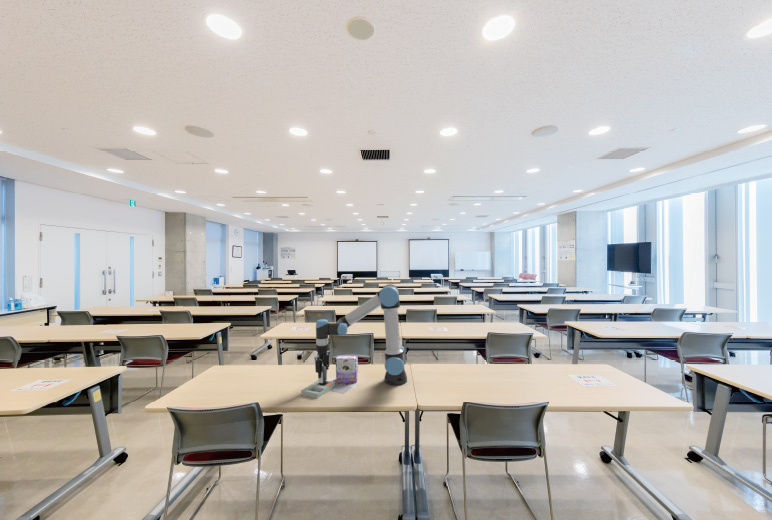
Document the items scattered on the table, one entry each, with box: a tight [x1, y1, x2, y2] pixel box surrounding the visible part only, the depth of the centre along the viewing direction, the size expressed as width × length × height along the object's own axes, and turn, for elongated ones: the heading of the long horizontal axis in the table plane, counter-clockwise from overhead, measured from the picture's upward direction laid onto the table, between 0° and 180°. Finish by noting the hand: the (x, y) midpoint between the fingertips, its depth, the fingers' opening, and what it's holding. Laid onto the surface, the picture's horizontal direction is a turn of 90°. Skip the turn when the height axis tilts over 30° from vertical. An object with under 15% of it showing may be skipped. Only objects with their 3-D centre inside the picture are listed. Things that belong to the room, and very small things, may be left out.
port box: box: [300, 380, 336, 399], centre depth 196 cm, size 12×18×3 cm, turn 156°
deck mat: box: [330, 384, 353, 395], centre depth 197 cm, size 10×10×1 cm
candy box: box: [335, 355, 359, 384], centre depth 210 cm, size 14×6×16 cm, turn 84°
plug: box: [320, 365, 327, 386], centre depth 200 cm, size 4×4×12 cm
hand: (322, 381), depth 200 cm, fingers closed on plug, 4 cm apart
